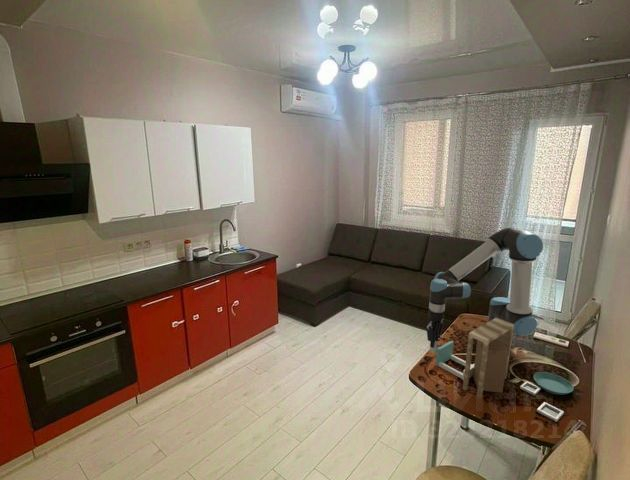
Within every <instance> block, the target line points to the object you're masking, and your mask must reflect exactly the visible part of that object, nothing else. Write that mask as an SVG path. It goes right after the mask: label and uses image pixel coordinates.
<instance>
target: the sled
mask: <svg viewBox="0 0 630 480" xmlns="http://www.w3.org/2000/svg"><path fill="white" fill-rule="evenodd" d="M453 353H454V341H453V340H450V341H448V342H446V343H443V344H442V345H440V346H439V347H437V348H436V353H435V354H436V355H435V363H434V364H435V366H437V367H439V368H441V369H443V370H445V371H447V372H449V373H450V374H453V375H454V376H456V377H458V378H460V379H461V380H462V381H464V372H465V369H463V371H462V372H461V371H460V370H457V369H455V368H453V367H452V366H449V365H448V364H447V363H446V362H447V361H449V360H452V361H453V362H456V363H458V364H459V365H461V366H464V367H465V363H466V360H464V359H462V358H460V357H458V356H456V355H454V354H453ZM474 364H475V362H474V363H473V364H472V363H471V365H470V373H469V379H471V378H473V372H474Z"/></svg>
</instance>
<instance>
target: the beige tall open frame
mask: <svg viewBox="0 0 630 480" xmlns="http://www.w3.org/2000/svg"><path fill="white" fill-rule="evenodd" d="M513 329H514V324H512V323H509V322H507V321H504V320H501V319H498V318H495V319H493V320H491V321H489V322H488V321H487V322H485V323H484V324H482V325H479V327H477V328H475V329H473V330H471V331H470V332H468V338H467V339H468V340H467V349H466V355H465V361H466V363H465V366H464V370H465V372H464V380H462V381H463V382H462V383H463V384H462V390H464V391H467V390H468V389H469V381H470V378H469V373H470V365H471V364H472V354H473V348H474V347H473V346H474V339H475V340H476V341H477V340H479V341H482V342H484V343H483V351H482V359H481V367H480V375H479V383H478V388H477V391H476V392H477V393H476V398H478V399H480V400H481V399H483V392H484V391H483V386H484V378H485V370H486V362H487V355H488V347H489V343H490V342H491V341H493V340H499V341H501V342H502V343H503V345H504V347H505V348H506V350H507V351H508V358H507V364H506V371H505V378H504V380H506V379H507V375H508V368H509V362H510V354H511V350H512V349H511V348H512V342H513V341H512V336H513V337H514V333H513Z"/></svg>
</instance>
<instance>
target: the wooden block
mask: <svg viewBox="0 0 630 480" xmlns="http://www.w3.org/2000/svg"><path fill="white" fill-rule="evenodd" d="M483 343H484V342H482V341H479V340H477V339H476V349H475V357H474V363H475V364H474V363H473V364H474V372H473V376H472V378H473V380H474V382H475V385H476V387H477V389H478V383H479V375H480V367H481V359H482V351H483ZM507 358H508V351H507V350H506V348H505V347H504V345H503V343H502V342H501V341H499V340H493V341H491V342H490V343H489V347H488V355H487V362H486V370H485V378H484V386H483V392H491V393H492V392H493V393H500V394H502V393H503V391H504V383H505V379H504V378H505V371H506V364H507Z"/></svg>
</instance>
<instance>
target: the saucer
mask: <svg viewBox="0 0 630 480" xmlns="http://www.w3.org/2000/svg"><path fill="white" fill-rule="evenodd" d="M533 380H534V382H535V383H536V385H537V386H538V387H540V388H541V390H544V391H546V392H548V393H550V394H552V395H559V396H560V395H561V396H562V395H563V396H564V395H568V394H570V393H572V392H573V391H574V389H575V388H574V385H573V384H572V383H571V382H570V381H569V380H567V379H566V378H564V377H563V376H560V375H558V374H555V373H552V372H547V371H541V372H540V371H539V372H536V373H534V375H533Z"/></svg>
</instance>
